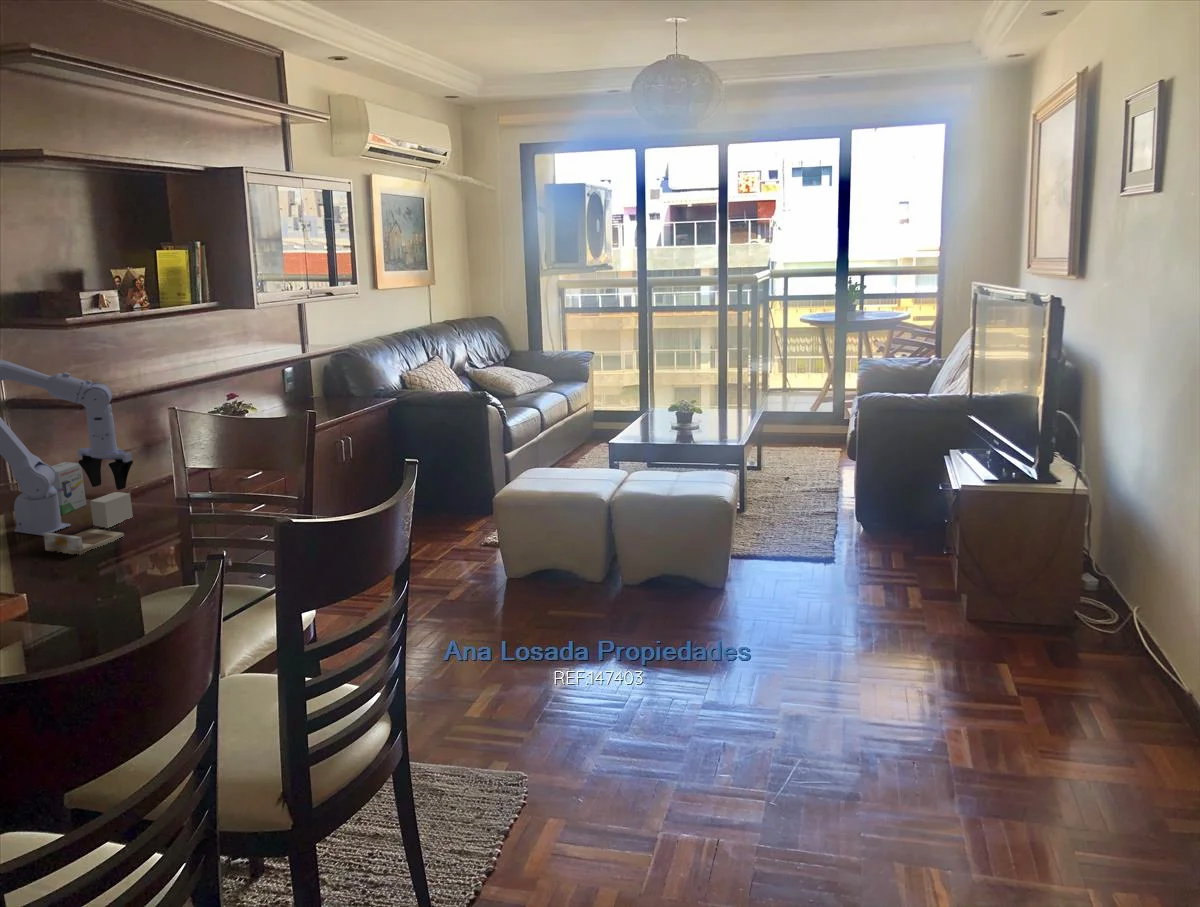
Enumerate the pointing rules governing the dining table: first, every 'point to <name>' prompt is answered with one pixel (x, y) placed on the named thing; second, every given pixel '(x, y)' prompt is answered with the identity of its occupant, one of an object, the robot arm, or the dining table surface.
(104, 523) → the carton
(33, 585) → the dining table surface
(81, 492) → the ink box
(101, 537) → the cream tray
